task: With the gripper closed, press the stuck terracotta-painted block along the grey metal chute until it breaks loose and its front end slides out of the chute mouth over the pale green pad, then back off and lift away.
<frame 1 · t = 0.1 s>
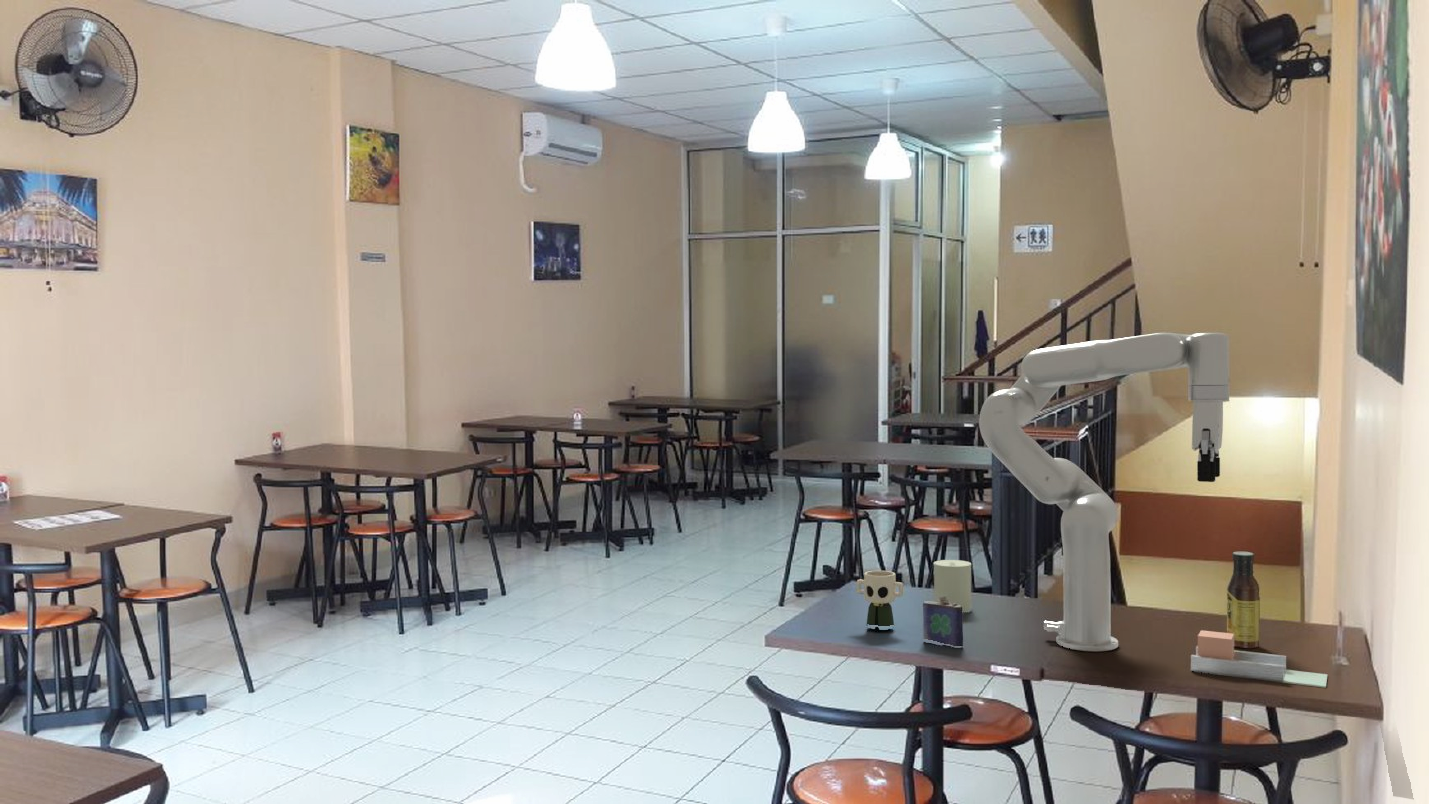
hand: (1208, 479, 221), 37 cm above the table, tool pointing down, fingers open, 9 cm apart
sauce bottle: (1243, 646, 232), on the table
can: (952, 610, 269), on the table
chute: (1238, 671, 213), on the table
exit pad: (1305, 679, 207), on the table
character mug: (880, 630, 250), on the table
flask: (943, 645, 236), on the table
block: (1215, 649, 215), point 4 cm above the table, slide at 0.0 cm
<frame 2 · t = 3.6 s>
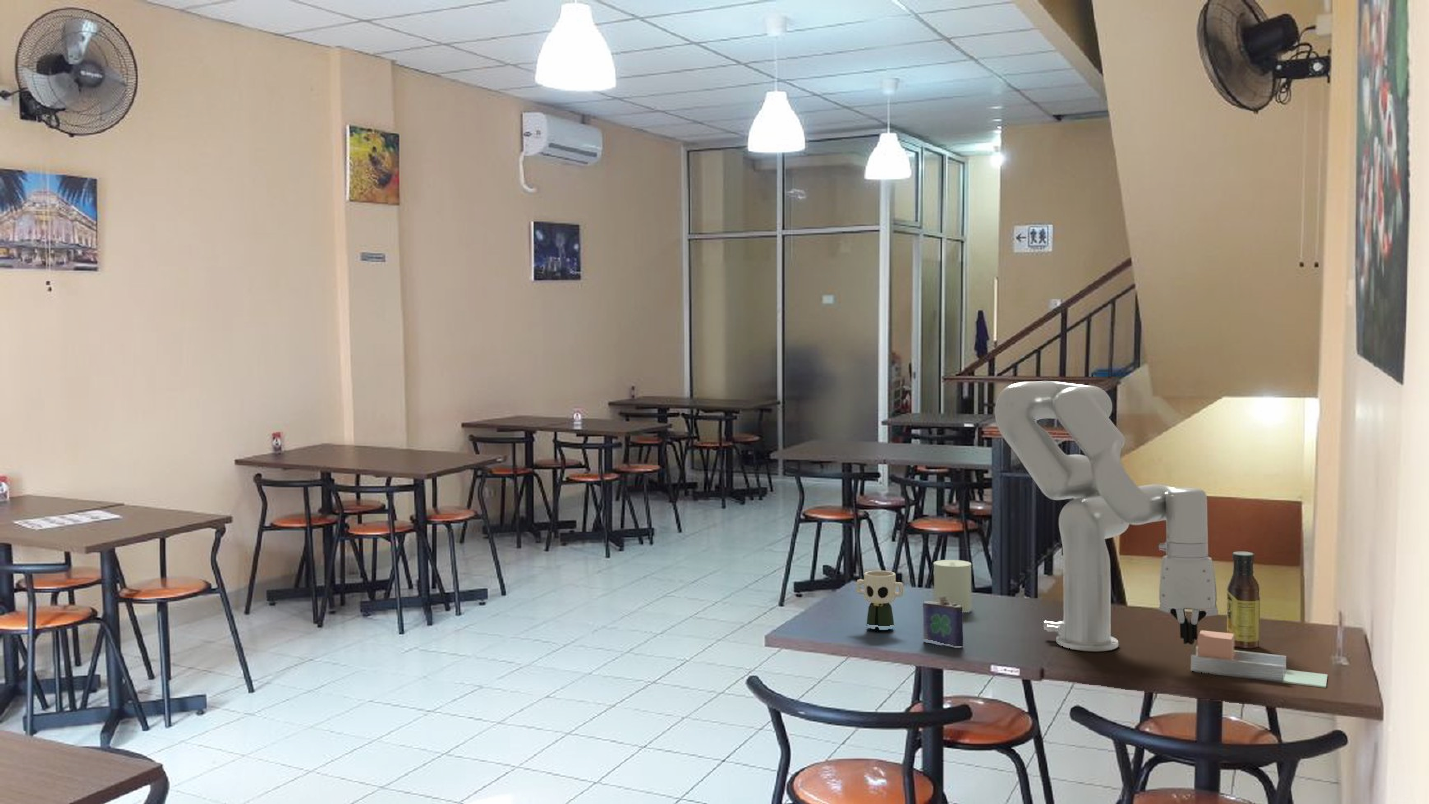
hand: (1189, 642, 217), 5 cm above the table, tool pointing down, fingers closed
block: (1215, 649, 215), point 4 cm above the table, slide at 0.0 cm, touching gripper
everything else where it was.
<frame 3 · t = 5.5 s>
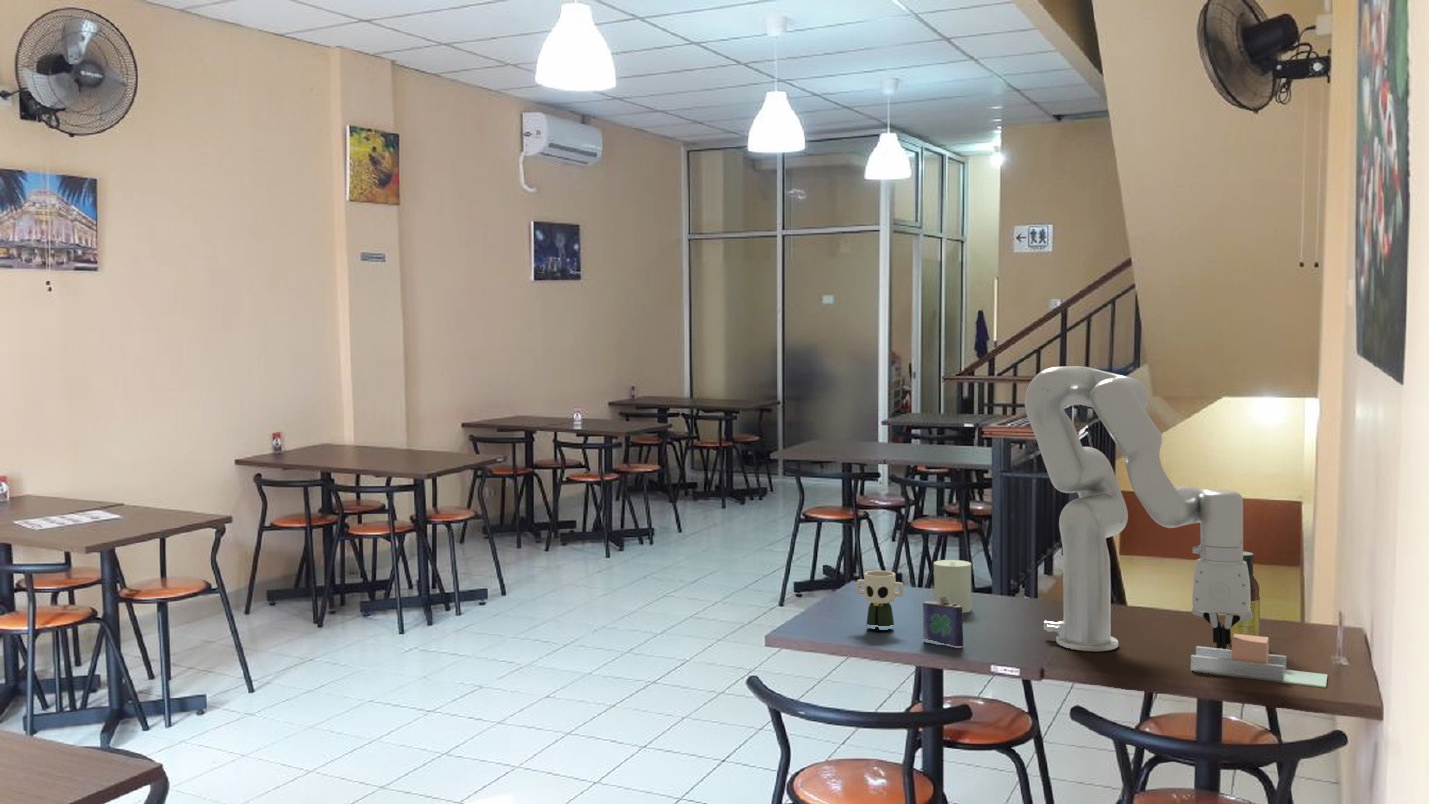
hand: (1221, 647, 214), 4 cm above the table, tool pointing down, fingers closed
block: (1250, 653, 212), point 4 cm above the table, slide at 6.1 cm, touching gripper
everything else where it was.
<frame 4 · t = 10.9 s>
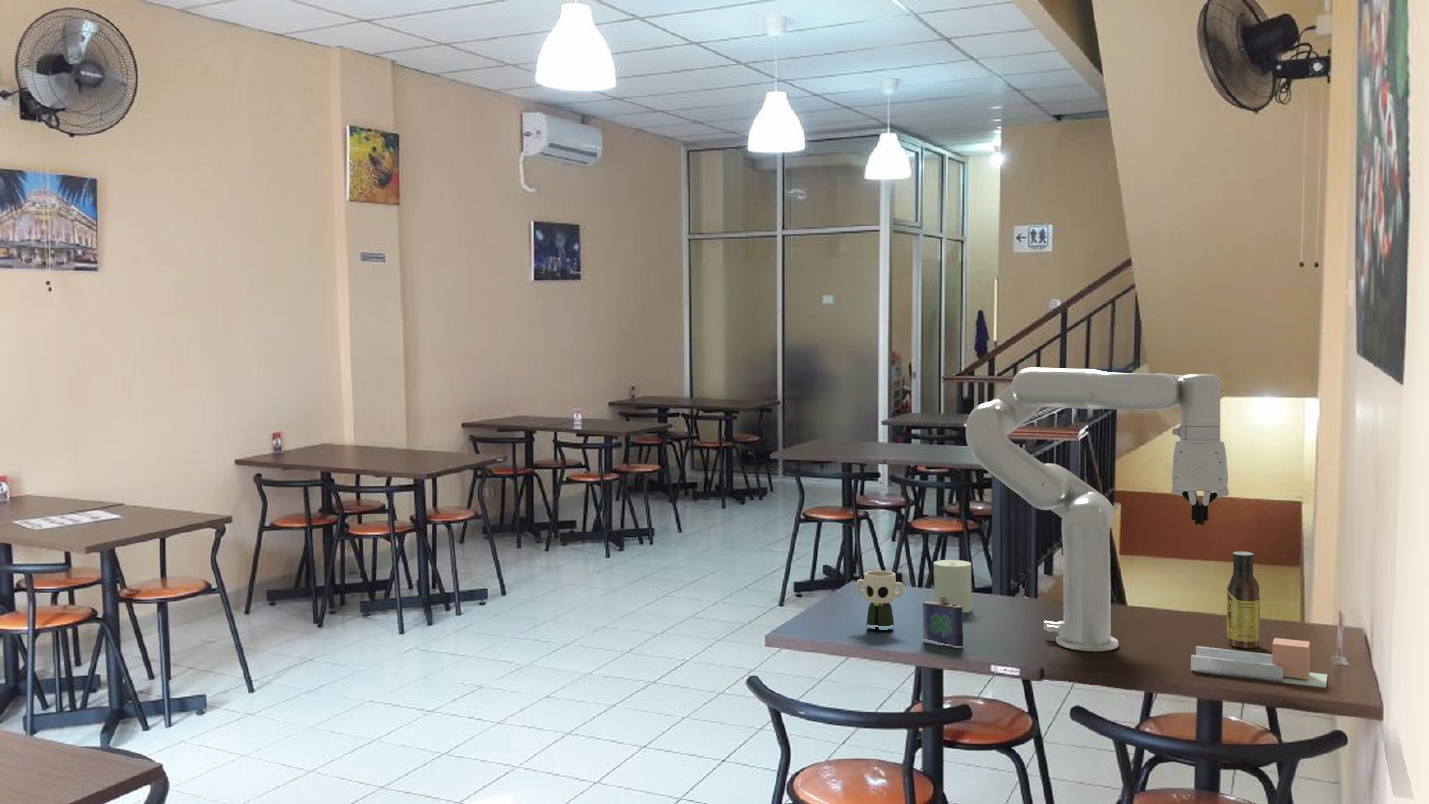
hand: (1199, 523, 224), 27 cm above the table, tool pointing down, fingers closed
block: (1291, 658, 208), point 4 cm above the table, slide at 13.1 cm
everything else where it was.
at the end: block slide at 13.1 cm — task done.
